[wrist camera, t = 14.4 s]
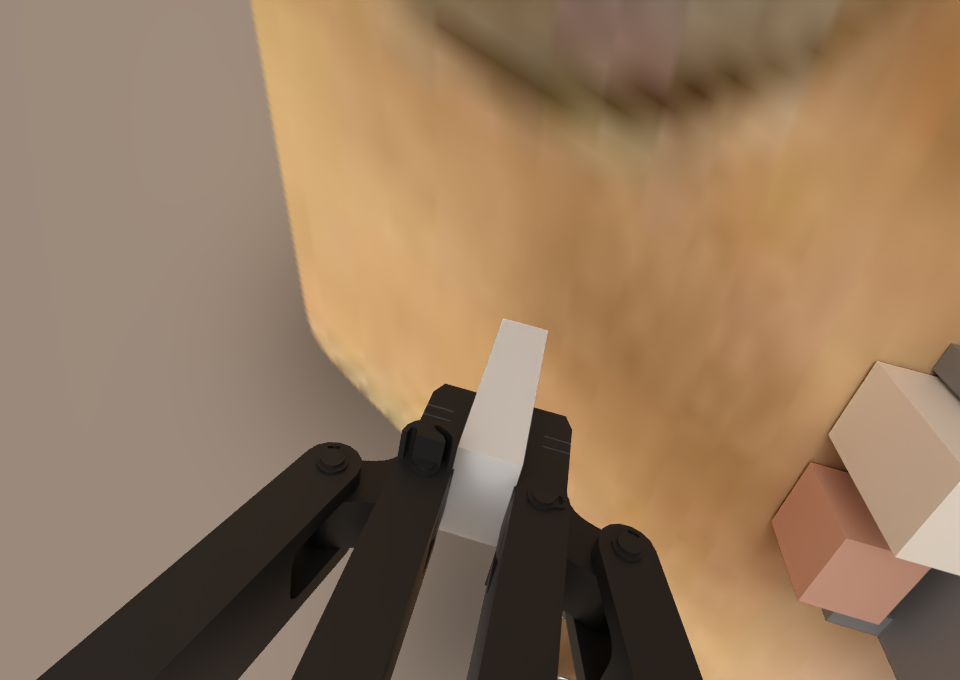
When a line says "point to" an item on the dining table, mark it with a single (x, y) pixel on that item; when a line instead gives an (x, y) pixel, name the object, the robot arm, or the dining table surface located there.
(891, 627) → the console
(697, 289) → the dining table surface
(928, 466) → the cream key
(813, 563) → the terracotta key
